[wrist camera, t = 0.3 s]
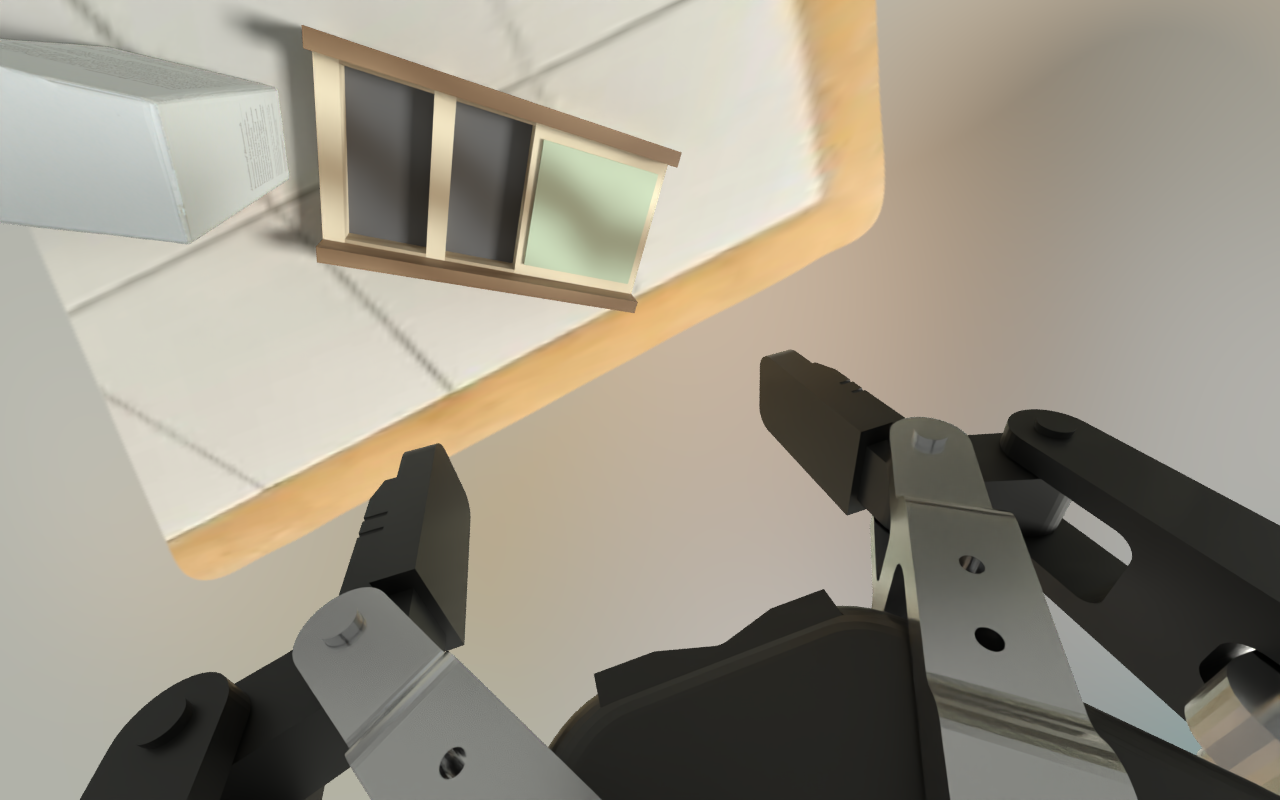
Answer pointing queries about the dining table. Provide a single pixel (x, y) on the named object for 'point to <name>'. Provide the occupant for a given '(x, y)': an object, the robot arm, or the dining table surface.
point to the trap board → (475, 182)
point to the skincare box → (131, 142)
